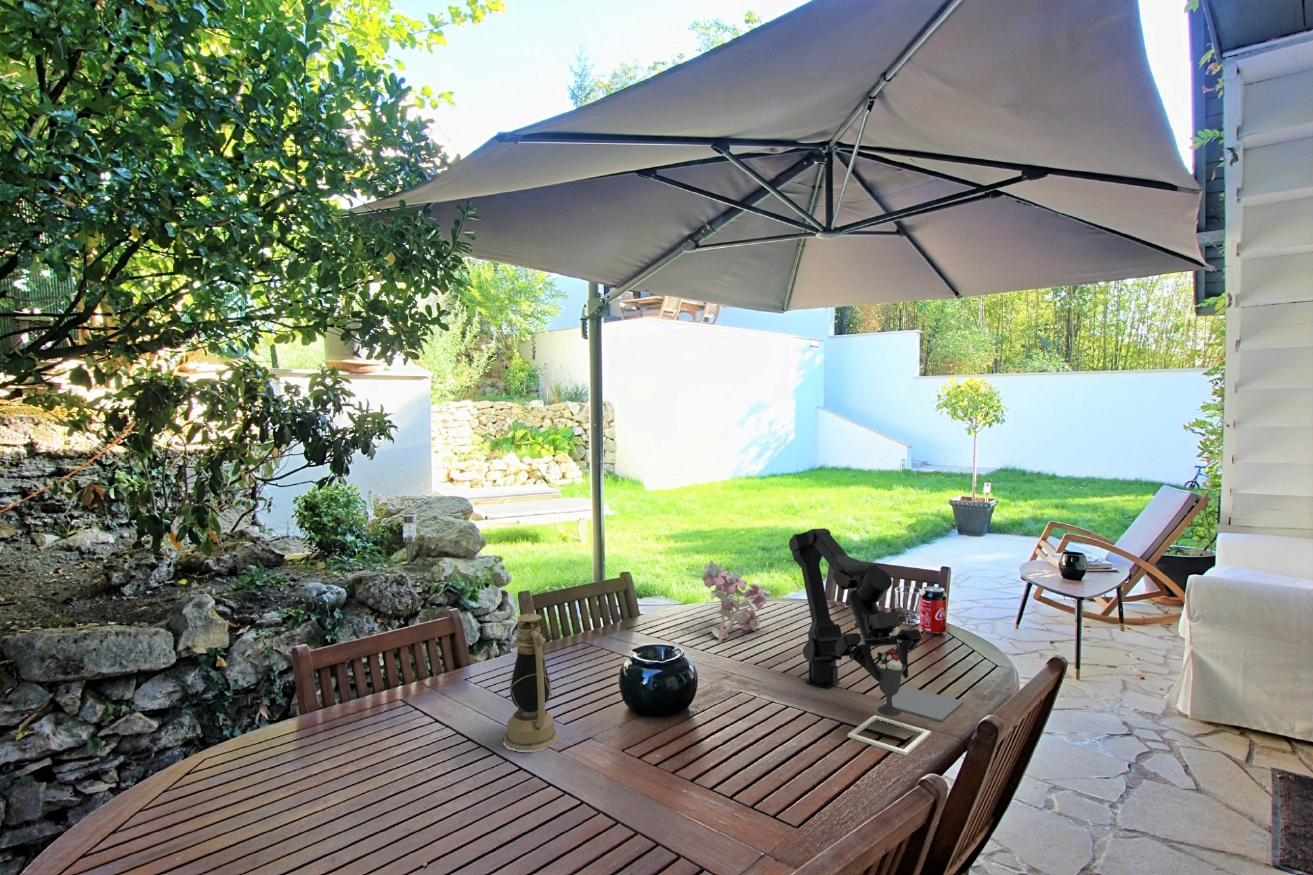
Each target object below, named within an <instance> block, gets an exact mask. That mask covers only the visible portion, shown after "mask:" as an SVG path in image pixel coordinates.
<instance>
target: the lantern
mask: <svg viewBox="0 0 1313 875" xmlns="http://www.w3.org/2000/svg"><path fill="white" fill-rule="evenodd" d="M528 604H529V606H530V608H529V607H528ZM526 607H527V613H524V614H521V615H519V616H517V617H516V620H517V622H516V623H517V624H516V638H515V639H514V641H513V644H514V645H516V646H517V648H516V649H517V653H516V659H515V663H514V664H515V665H514V668H513V672H512V674H511V675H510V678H509V681H510V684H509V694H510V697H511V701H512V703H513V705H514V706H515V707H516V708H517V710H516V711H515V712H514V713H513V714H512V716H511V717H510V718H509V719H508V721H507V733H506V734H505V735H504V736H503V738H504V742H505V744H506V746H509V747H510V748H515V749H516V750H536V749H540V748H545V747H546V746H549V745H551V744H552V743H554V742H556V740H557V738H558V731H556V730H555V728H554V726H555V725H554V724H555V723H554V717H553V716H552V715H551V714H550V713H549V711H548V710H546V707H547V705H548V703H549V701H550V698H551V696H553V693H552V680H551V677H550V676H549V674H548V670H547V666H546V664H547V663H546V662H547V660H546V659H547V657H546V654H545V653H543V644H544V643H546V637H543V633H541V625H540V620H541V619H542V615H541V614H537V613H536V614H535V613H532V612H531V611H532V605H531V602H530V600H529V601H527V602H526ZM528 608H529V609H528ZM523 622H524V623H523Z"/></svg>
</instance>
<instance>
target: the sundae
mask: <svg viewBox="0 0 1313 875" xmlns="http://www.w3.org/2000/svg"><path fill="white" fill-rule="evenodd" d="M897 646H898V647H900V646H899V645H897ZM897 646H896V647H897ZM896 647H895V648H896ZM898 647H897V648H898ZM895 648H893V649H890V650H889V651H886V652H884V653H883V652H879V651H878V652H877V660H876V661H874V662H875V664H876V667H877V669H878V672H879V675H880V681H878V686H879V690H880V691H881V692H882V693H883V694H884V696H886V700H885V701H886V705H885V706H882V705H881V706H878V707H877V709H876V711H877V712H878V713H879V714H880V715H883V716H886V717H887V716H888V717H897V716H900V715H901V714H902V711H900V710H899V709H898V708H895V707H893V705H892V696H894V695H895V694H897V693H898V692H900V691H899V690H900V687H901V680H902V676H903V675H902V672H903V671H904V670H905V668H906V665H904V664H901V661H900V660H899V659H898V655H896V654H895V651H896V649H897V648H896V649H895ZM894 649H895V651H894Z"/></svg>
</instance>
